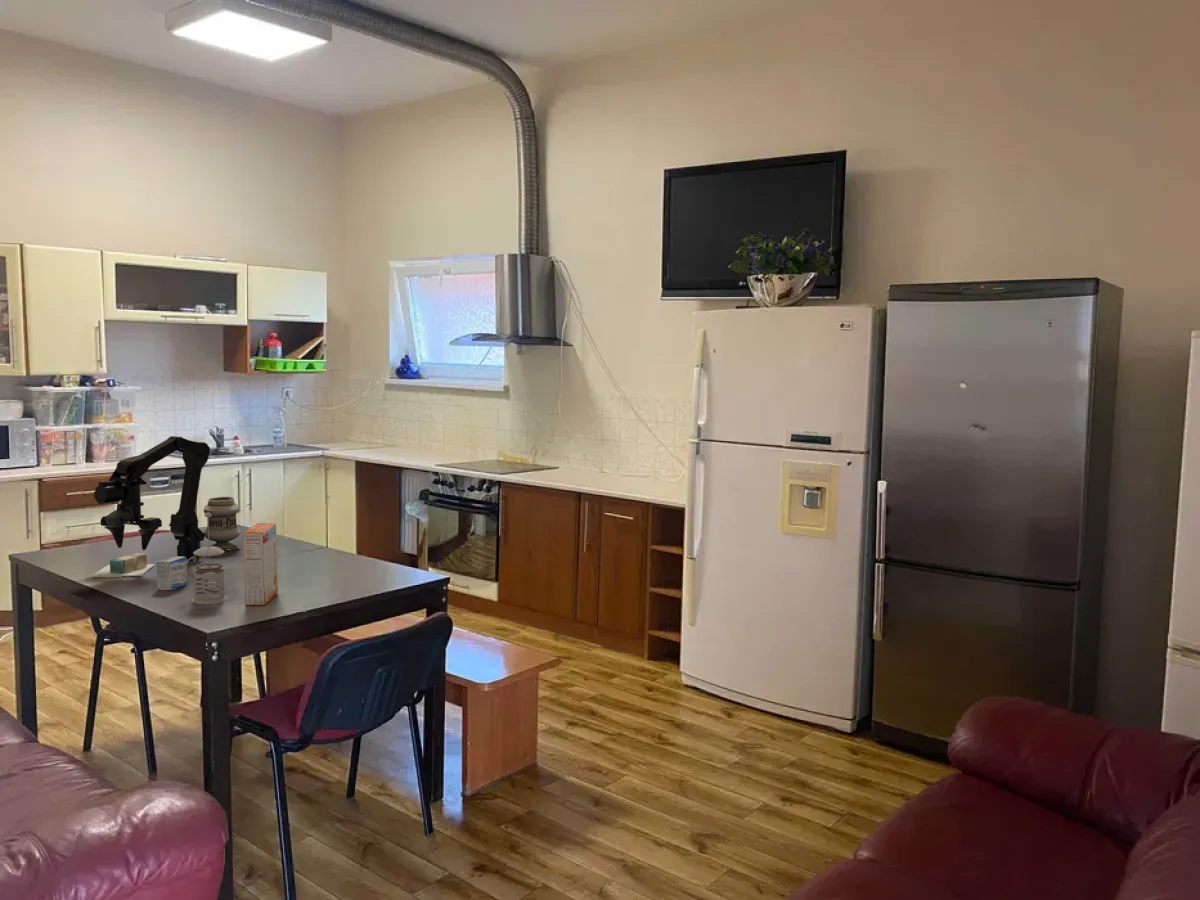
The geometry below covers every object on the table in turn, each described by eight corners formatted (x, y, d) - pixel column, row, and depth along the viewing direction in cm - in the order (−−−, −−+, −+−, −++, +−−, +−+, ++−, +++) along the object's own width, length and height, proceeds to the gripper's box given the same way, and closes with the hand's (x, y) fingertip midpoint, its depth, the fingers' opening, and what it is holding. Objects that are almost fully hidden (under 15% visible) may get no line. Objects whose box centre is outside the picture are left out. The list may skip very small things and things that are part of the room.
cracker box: (257, 593, 274) (256, 522, 272) (278, 593, 274) (277, 522, 272) (243, 606, 260) (242, 531, 258) (265, 606, 261) (264, 531, 258)
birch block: (136, 553, 302) (109, 560, 291) (146, 554, 301) (120, 561, 290) (136, 565, 302) (110, 572, 292) (146, 566, 301) (120, 573, 291)
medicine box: (170, 591, 274) (169, 562, 273) (157, 590, 275) (156, 561, 274) (187, 585, 282) (186, 556, 281) (174, 583, 283) (173, 555, 282)
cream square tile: (154, 566, 305) (154, 564, 304) (140, 576, 290) (140, 575, 290) (108, 566, 302) (108, 564, 302) (91, 577, 287) (91, 575, 287)
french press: (222, 604, 261) (220, 515, 259) (178, 604, 260) (176, 515, 258) (232, 595, 271) (231, 509, 269) (191, 595, 270) (189, 509, 268)
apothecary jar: (196, 550, 329) (195, 499, 327) (217, 544, 341) (217, 494, 339) (227, 552, 326) (226, 501, 325) (247, 546, 338) (246, 496, 336)
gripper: (85, 501, 290) (87, 551, 292) (136, 505, 285) (137, 556, 287) (113, 496, 301) (114, 544, 303) (162, 500, 296) (163, 549, 298)
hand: (131, 548), depth 297 cm, fingers open, 9 cm apart
